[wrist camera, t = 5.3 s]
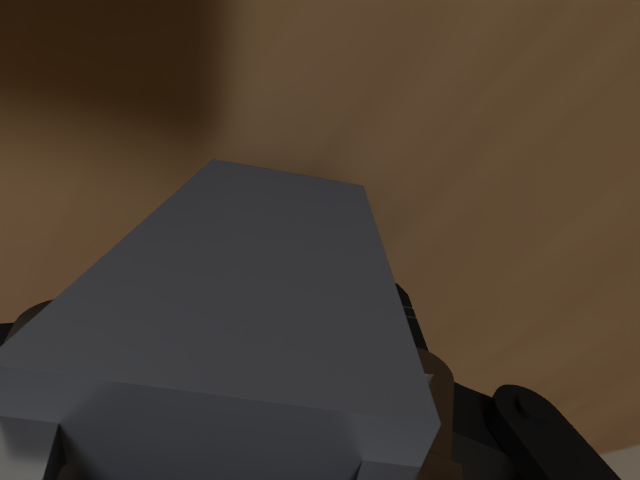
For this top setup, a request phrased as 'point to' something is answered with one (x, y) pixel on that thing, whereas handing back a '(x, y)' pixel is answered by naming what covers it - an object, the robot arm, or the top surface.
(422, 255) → the top surface
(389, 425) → the plug
